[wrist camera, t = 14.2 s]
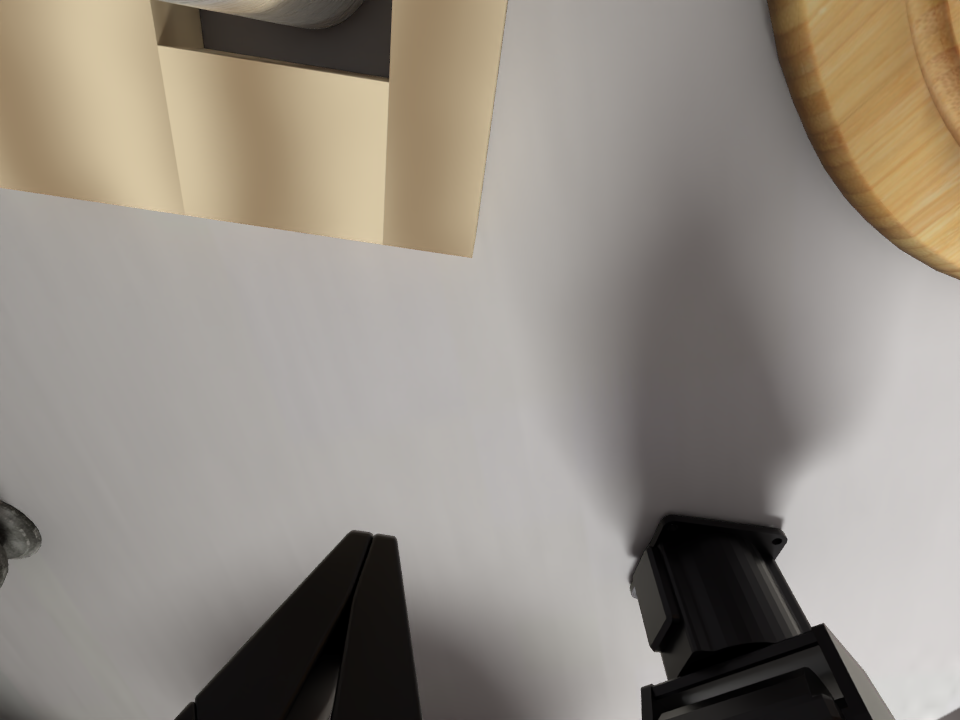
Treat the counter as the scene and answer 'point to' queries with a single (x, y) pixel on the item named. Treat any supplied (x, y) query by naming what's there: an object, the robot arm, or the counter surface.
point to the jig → (253, 121)
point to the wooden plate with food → (882, 111)
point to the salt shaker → (15, 537)
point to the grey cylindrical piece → (283, 10)
